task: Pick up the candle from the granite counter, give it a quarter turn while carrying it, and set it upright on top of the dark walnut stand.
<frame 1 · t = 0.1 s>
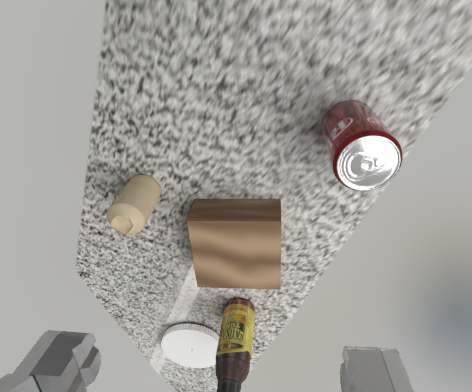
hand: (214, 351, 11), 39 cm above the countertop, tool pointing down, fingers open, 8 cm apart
soda can: (346, 125, 46), on the countertop
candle: (145, 188, 55), on the countertop
sauce bottle: (239, 306, 68), on the countertop
plastic lid: (194, 338, 76), on the countertop
walnut stand: (239, 233, 58), on the countertop
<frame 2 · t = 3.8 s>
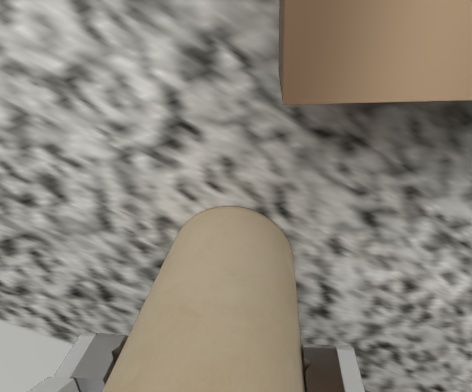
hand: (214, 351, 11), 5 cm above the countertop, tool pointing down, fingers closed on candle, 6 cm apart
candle: (233, 254, 16), on the countertop, touching gripper
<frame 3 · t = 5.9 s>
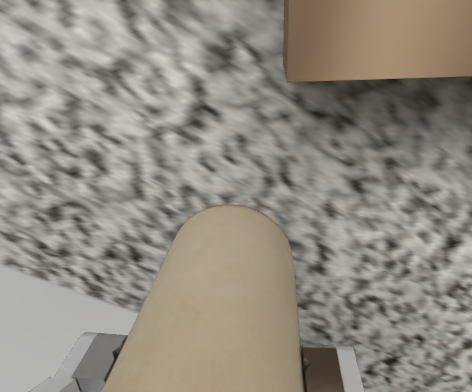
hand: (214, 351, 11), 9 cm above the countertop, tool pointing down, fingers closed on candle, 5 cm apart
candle: (233, 252, 16), point 3 cm above the countertop, touching gripper
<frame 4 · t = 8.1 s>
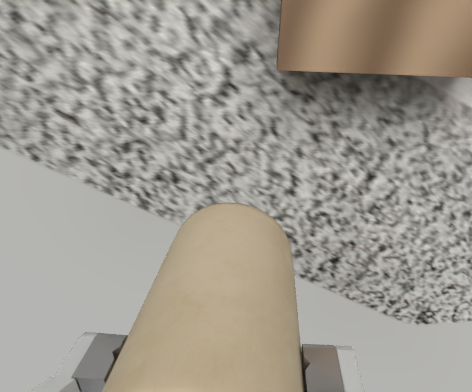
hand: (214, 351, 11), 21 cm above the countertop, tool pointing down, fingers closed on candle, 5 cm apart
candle: (233, 250, 16), point 15 cm above the countertop, touching gripper
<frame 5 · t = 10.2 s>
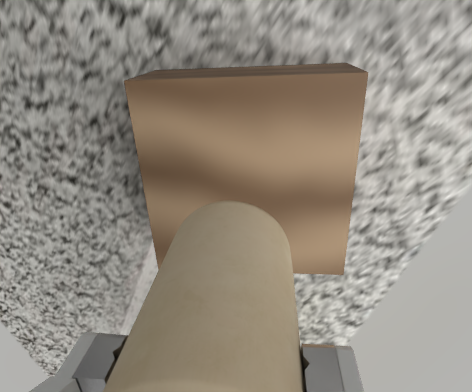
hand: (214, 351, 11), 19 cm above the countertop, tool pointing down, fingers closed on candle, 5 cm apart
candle: (232, 247, 16), point 13 cm above the countertop, touching gripper
walnut stand: (250, 157, 27), on the countertop
when the fingers open (12 cm above the countertop, at t = 12.0 s): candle stays where it is, resting on walnut stand.
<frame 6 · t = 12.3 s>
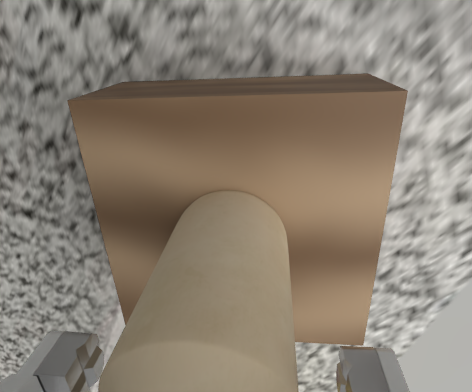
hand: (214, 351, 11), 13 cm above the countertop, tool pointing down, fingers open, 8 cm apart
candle: (232, 235, 17), point 6 cm above the countertop, touching walnut stand
walnut stand: (244, 189, 22), on the countertop
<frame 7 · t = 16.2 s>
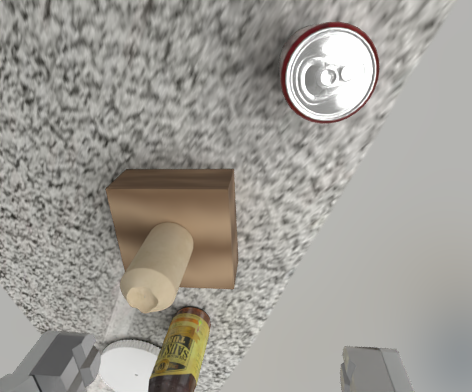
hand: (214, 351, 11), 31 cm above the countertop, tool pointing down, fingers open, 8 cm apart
soda can: (312, 63, 35), on the countertop
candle: (172, 240, 40), point 6 cm above the countertop, touching walnut stand
sauce bottle: (192, 318, 54), on the countertop
plastic lid: (141, 361, 61), on the countertop
walnut stand: (185, 217, 45), on the countertop
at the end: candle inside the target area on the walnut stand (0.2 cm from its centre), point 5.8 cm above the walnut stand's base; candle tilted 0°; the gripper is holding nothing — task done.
